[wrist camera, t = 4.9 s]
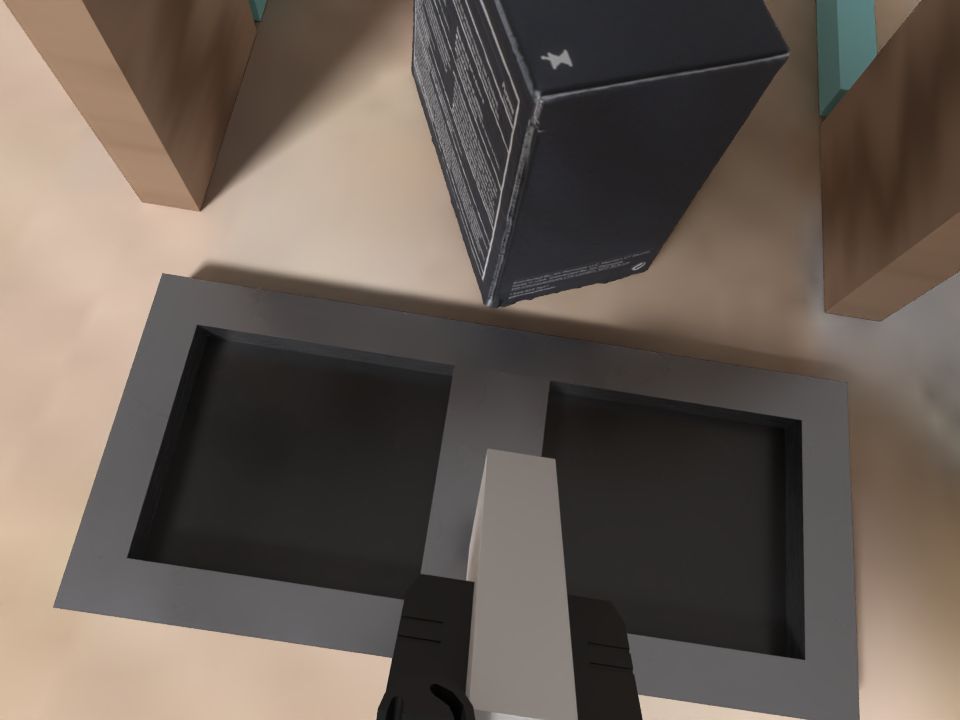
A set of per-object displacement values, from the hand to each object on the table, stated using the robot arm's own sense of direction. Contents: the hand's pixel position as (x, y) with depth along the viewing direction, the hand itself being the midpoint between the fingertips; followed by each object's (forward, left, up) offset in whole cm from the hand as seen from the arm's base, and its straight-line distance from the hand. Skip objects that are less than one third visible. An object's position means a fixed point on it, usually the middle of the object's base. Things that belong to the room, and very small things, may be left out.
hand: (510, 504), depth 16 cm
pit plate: (-1, 0, -6) cm, 6 cm away
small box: (-13, 0, -6) cm, 15 cm away
